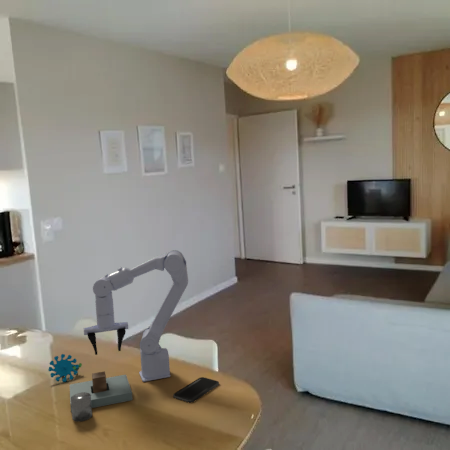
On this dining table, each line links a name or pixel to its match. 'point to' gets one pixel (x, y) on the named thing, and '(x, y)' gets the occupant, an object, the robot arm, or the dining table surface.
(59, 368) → the teal spiky virus toy
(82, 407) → the gunmetal plug
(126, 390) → the socket plate
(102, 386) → the walnut peg
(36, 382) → the dining table surface
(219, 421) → the dining table surface
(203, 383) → the phone
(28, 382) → the dining table surface
